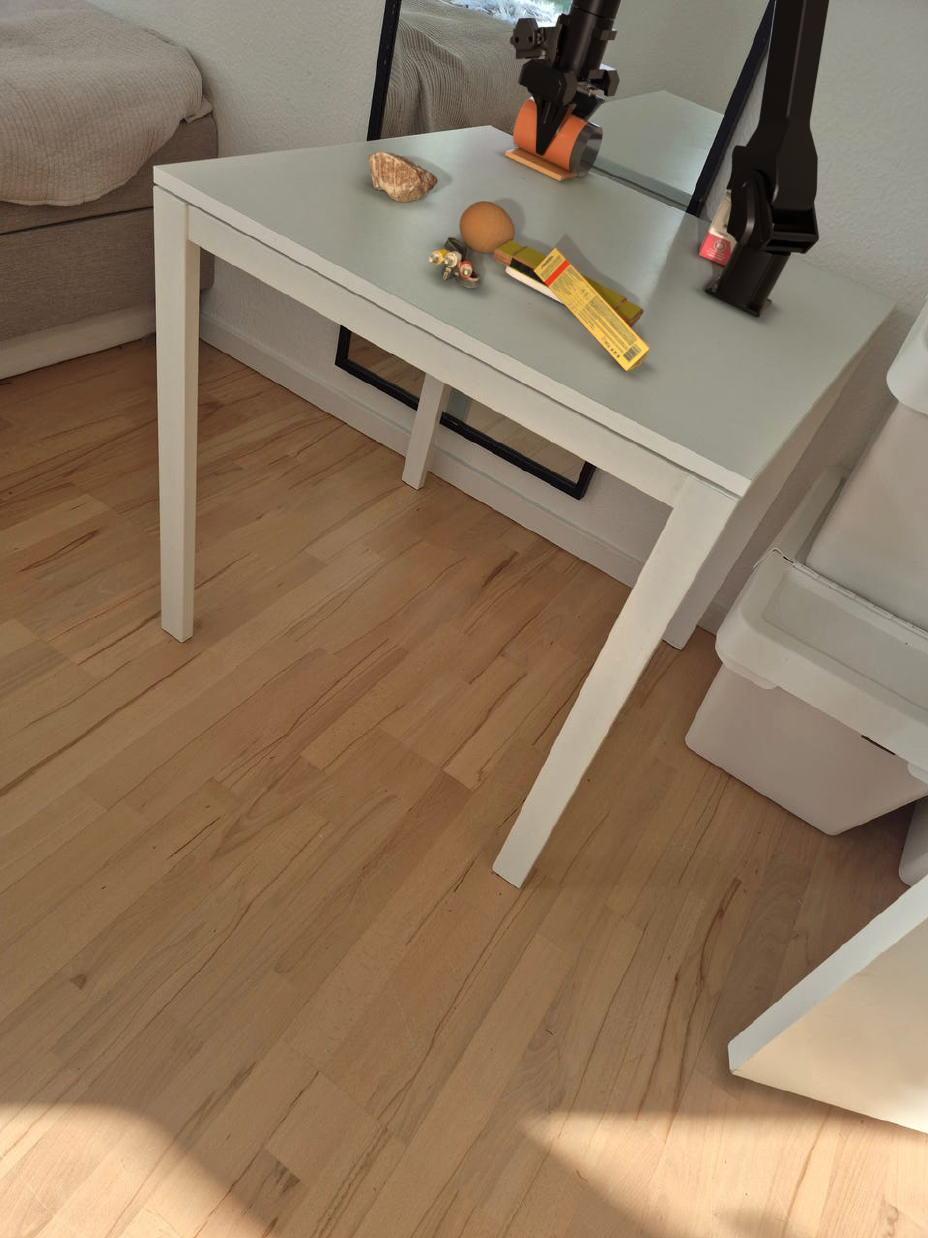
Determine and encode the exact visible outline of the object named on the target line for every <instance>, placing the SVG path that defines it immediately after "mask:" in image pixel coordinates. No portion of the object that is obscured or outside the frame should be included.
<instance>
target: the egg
mask: <svg viewBox="0 0 928 1238" xmlns="http://www.w3.org/2000/svg"><path fill="white" fill-rule="evenodd" d="M459 232H460V236H461V238H462V240H463V241H464V244H465V245H466V246H467V247H469V248H470V249H471V250H473V251H475V252H477V253H481V254H494V251H495V248H497V247H498V246H500V245H501V244H503V243H505V242H506V241H508V240H511V241H514V239H515V235H516V229H515V224H514V223H513V220H512V218H511V216H510V215H509V214H508V212H506V211H505V209H504V208H503V207H501V206H500V205H498V204H497V203H494V202H492V201H485V200H480V201H477V202H474V203H472V204H470V205H469V206H468V207H466V209H465V210H464V211H463V212H462V213H461V216H460V219H459Z"/></svg>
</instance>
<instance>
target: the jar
mask: <svg viewBox="0 0 928 1238" xmlns="http://www.w3.org/2000/svg"><path fill="white" fill-rule="evenodd" d="M536 125H537V107H536V103H535V101H534V99H533V97H532V96H531V97H529V98H527V100H526V101H525V102H524V103H523V105H522V107H521V108H520V110H519V111H518V114H517V117H516V120H515V123H514V127H513V134H512V143H513V145H514V146H515V147H516V148H520V149H522V150H524V151H527V152H529V153H531V154H533V155H535V156H537V157H540V158H542V159H544V160H546V161H548V162H550V163H552V164H555V165H557V166H559V167H561V168H563V169H565V170H567V171H570V172H572V173H574V174H576V175H578V177H581V178H582V177H584V176H586V175H587V174H588V173H589V171H590V170H591V169H592V167H593V165H594V163H595V161H596V159H597V157H598V154H599V152H600V150H601V146H602V143H603V136H604V130H603V127H602V126H600V125H598V124H596V123H593V122H591V121H589V120H588V121H587V120H584V119H582V118H580V117H578V116H575V115H573V114H570V116H569V117H568V119H567V120H566V122H565V123H564V125H563V127H562V128H561V130H560V131H559V133H558V134H557V136H556V138H555V139H554V141H553V142H552V144H551V145H550V147H549V148H548V150H547V151H546V153H545V154H544V155H543V156H541V155H539V154H537V153H536Z"/></svg>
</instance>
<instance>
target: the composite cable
mask: <svg viewBox="0 0 928 1238" xmlns="http://www.w3.org/2000/svg"><path fill="white" fill-rule="evenodd" d="M469 251H470V250H469V248H468V246H467V244H466V243H463V242H462V241H460V240H459V239H457V238H456V237H453V236H452V237H451V236H449V237H447V238H446V242H445V243H444V248H441V249H436V250H433V252H431V254H430V256H429V257H428V262H429V263H430V264H433V265H435V266H438V265H441V264H444V266H443V268H442V271H441V275H442V279H443V280H451V279H453V277H454V276H455V278H456V279H455V280H456V281H457V283H458V284H459V285H460V286H462V287H464V288H467V289H476V288H478V287H479V286H480V284H481V274H480V272H479V271H478V270H477V269H475V268H474V266H472V263H471V262H470V261H469V260H468V256H469Z"/></svg>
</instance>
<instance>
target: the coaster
mask: <svg viewBox="0 0 928 1238" xmlns="http://www.w3.org/2000/svg"><path fill="white" fill-rule="evenodd" d="M504 156H505V157H508V158H509V159H511V160H514V161H516V162H518V163H520V164H523V165H524V166H527V167H530V168H531V169H533V170H535V171H537V172H540V173H542V174H544V175H546V176H547V177H550V178H552V179H555V180H556V181H559V182H561V181H564V180H569V179H571V178H574V177H577V176H578V175H576V174H574V173H572V172H570V171H567V170H565V169H563V168H561V167H559V166H557V165H555V164H552V163H550V162H548V161H546V160H544V159H542V158H540V157H537V156H535V155H533V154H531V153H529V152H527V151H524V150H522V149H520V148H518V147H516V148H512V149H507V150H505V153H504ZM578 177H579V176H578Z"/></svg>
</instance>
